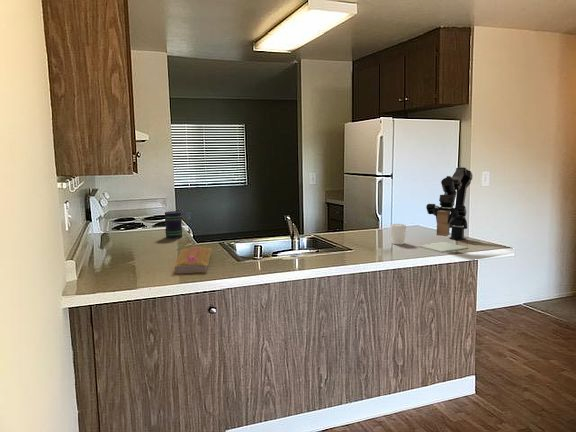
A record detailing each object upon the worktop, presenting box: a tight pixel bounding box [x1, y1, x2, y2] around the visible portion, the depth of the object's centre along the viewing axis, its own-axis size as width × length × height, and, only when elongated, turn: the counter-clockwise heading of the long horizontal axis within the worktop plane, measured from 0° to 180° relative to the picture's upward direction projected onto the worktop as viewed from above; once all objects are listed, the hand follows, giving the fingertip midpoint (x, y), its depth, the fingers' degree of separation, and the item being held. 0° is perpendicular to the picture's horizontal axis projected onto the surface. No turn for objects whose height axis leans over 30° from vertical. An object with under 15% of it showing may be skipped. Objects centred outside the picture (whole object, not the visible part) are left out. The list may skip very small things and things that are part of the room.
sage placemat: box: [418, 241, 469, 253], centre depth 238 cm, size 18×16×1 cm
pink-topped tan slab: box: [172, 246, 213, 274], centre depth 211 cm, size 35×14×6 cm, turn 6°
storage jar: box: [164, 210, 184, 240], centre depth 275 cm, size 10×10×15 cm
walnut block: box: [436, 210, 451, 237], centre depth 232 cm, size 5×5×12 cm
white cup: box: [390, 223, 407, 245], centre depth 249 cm, size 8×8×10 cm
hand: (442, 223), depth 231 cm, fingers closed on walnut block, 5 cm apart
